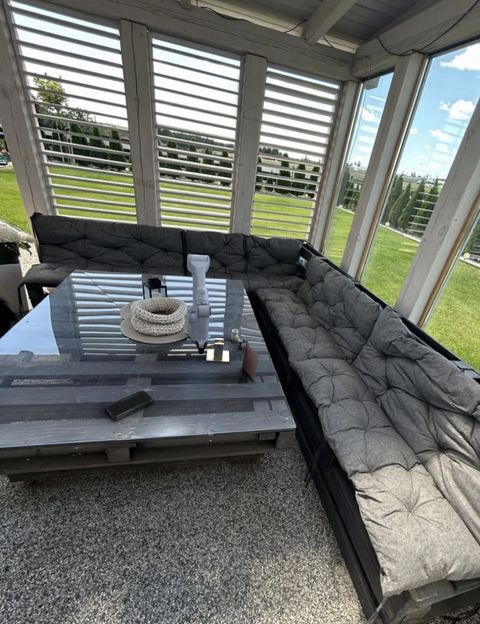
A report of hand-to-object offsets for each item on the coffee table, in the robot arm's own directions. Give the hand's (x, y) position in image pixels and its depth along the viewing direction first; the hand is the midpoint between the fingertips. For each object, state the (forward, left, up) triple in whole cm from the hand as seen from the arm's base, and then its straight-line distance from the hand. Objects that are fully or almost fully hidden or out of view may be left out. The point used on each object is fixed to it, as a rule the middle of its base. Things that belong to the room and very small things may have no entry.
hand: (201, 351), depth 141 cm
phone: (+13, -40, -3) cm, 43 cm away
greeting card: (+24, +10, -3) cm, 26 cm away
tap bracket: (+5, +7, -3) cm, 9 cm away
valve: (+1, +23, -3) cm, 23 cm away
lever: (+3, +4, +2) cm, 5 cm away
